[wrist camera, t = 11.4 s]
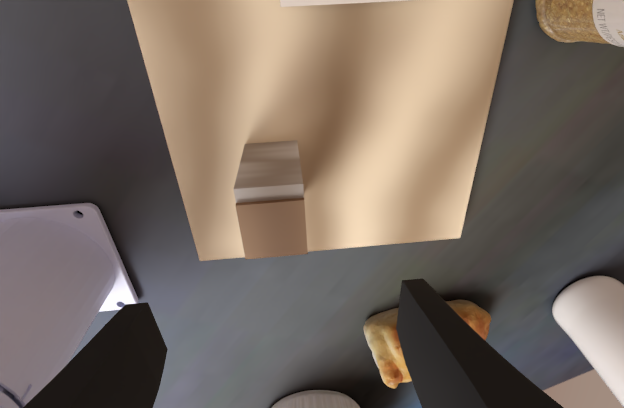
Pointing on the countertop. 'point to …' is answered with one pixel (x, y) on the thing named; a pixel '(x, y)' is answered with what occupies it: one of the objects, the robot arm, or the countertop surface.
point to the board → (326, 109)
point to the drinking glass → (596, 325)
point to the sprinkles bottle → (582, 20)
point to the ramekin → (316, 400)
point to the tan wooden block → (271, 200)
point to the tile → (326, 2)
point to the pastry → (388, 346)
